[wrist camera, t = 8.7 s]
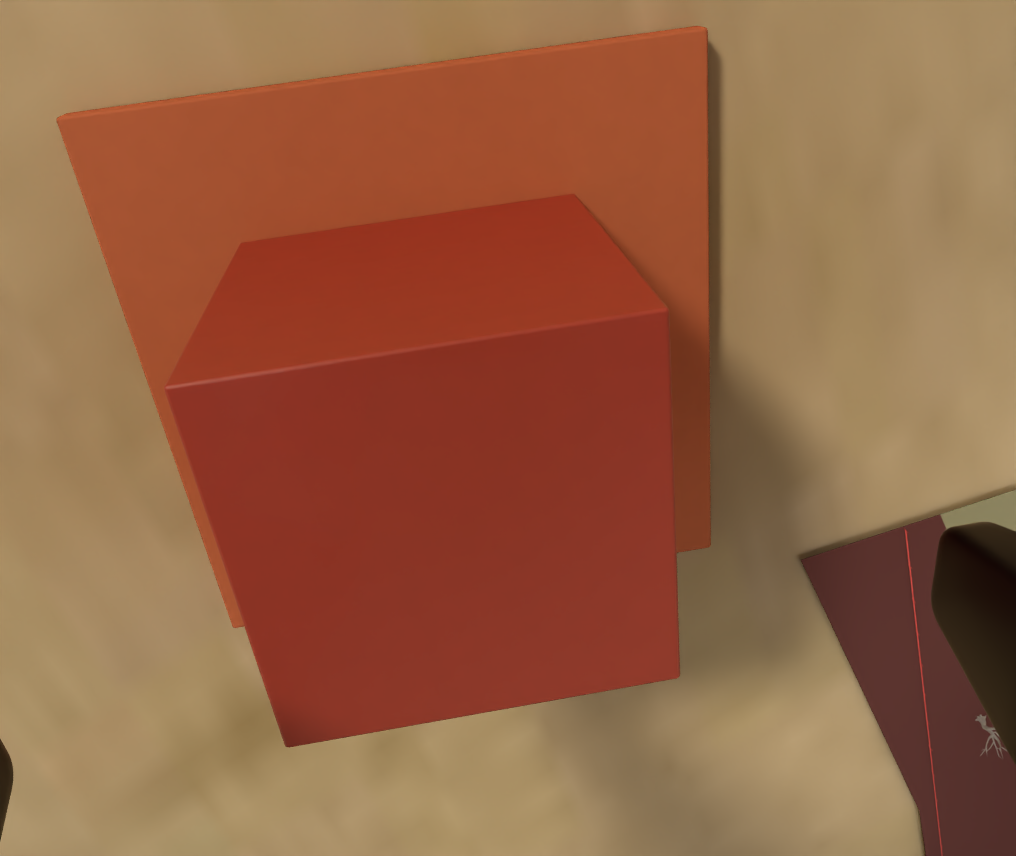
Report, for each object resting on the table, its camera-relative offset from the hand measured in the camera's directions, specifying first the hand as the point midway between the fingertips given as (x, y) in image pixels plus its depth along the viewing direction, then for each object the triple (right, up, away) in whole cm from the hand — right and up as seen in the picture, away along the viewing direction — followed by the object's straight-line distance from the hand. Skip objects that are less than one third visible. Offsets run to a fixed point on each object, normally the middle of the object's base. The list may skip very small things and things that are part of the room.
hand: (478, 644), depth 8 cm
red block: (-1, +3, +6) cm, 7 cm away
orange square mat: (-1, +3, +6) cm, 7 cm away
